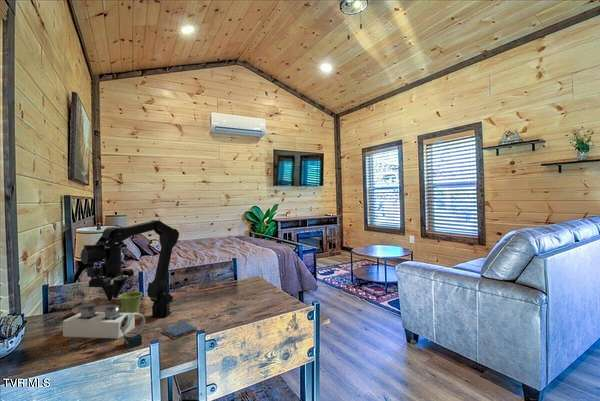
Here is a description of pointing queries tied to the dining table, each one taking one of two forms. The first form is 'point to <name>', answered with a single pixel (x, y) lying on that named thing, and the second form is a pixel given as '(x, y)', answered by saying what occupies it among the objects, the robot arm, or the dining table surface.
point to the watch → (135, 337)
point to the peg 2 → (112, 312)
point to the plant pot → (131, 302)
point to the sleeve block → (95, 326)
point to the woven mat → (179, 330)
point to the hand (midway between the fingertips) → (112, 299)
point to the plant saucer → (98, 305)
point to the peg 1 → (88, 311)
